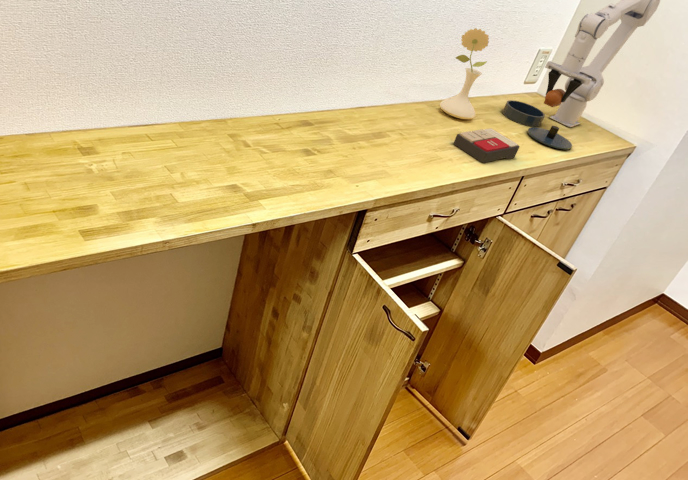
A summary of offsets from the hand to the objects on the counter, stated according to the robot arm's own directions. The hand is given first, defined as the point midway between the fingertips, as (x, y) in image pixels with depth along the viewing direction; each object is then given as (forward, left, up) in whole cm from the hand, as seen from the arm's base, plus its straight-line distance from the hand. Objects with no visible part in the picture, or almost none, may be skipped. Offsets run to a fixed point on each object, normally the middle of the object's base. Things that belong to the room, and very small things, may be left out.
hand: (554, 98), depth 184 cm
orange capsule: (0, 0, -2) cm, 2 cm away
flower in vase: (+30, -17, -10) cm, 36 cm away
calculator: (+46, +3, -10) cm, 47 cm away
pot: (+2, -6, -9) cm, 12 cm away
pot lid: (+11, +8, -9) cm, 16 cm away
